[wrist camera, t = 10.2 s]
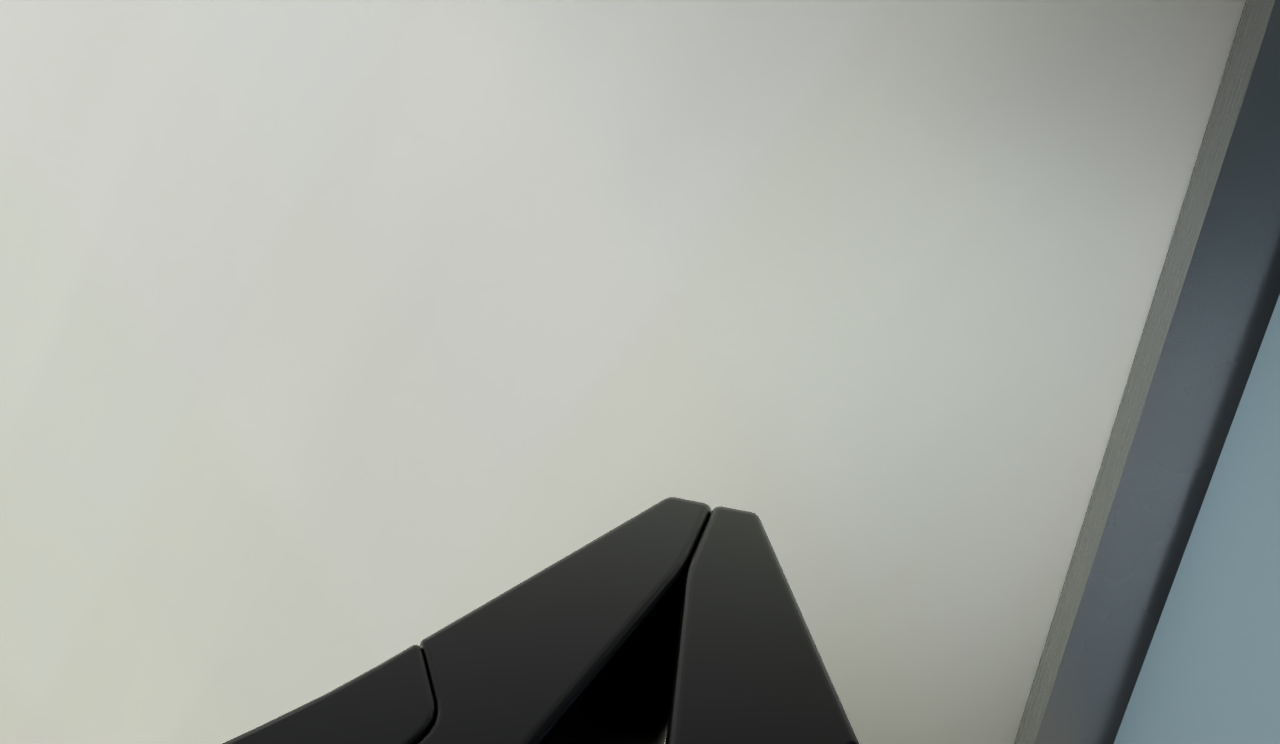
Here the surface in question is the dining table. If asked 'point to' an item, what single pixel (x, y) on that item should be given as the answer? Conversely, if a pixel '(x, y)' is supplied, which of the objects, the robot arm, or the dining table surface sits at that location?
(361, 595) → the dining table surface
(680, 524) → the robot arm
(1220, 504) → the moving jaw
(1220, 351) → the vise bed
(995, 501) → the dining table surface
